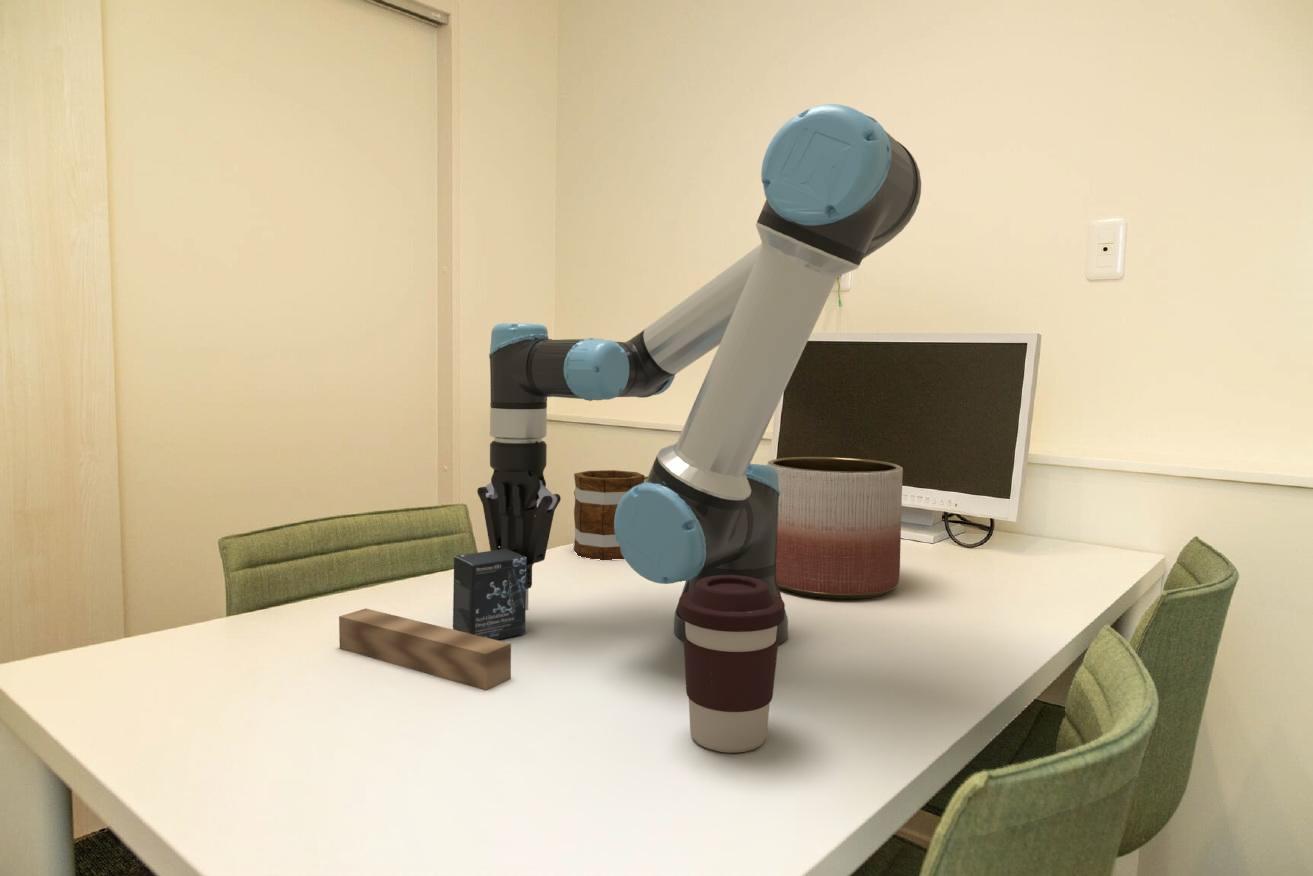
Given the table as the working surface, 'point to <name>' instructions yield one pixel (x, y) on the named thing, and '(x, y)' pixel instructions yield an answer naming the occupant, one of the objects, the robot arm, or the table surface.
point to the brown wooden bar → (426, 648)
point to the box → (490, 594)
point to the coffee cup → (730, 660)
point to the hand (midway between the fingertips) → (517, 610)
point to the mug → (600, 511)
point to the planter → (838, 526)
